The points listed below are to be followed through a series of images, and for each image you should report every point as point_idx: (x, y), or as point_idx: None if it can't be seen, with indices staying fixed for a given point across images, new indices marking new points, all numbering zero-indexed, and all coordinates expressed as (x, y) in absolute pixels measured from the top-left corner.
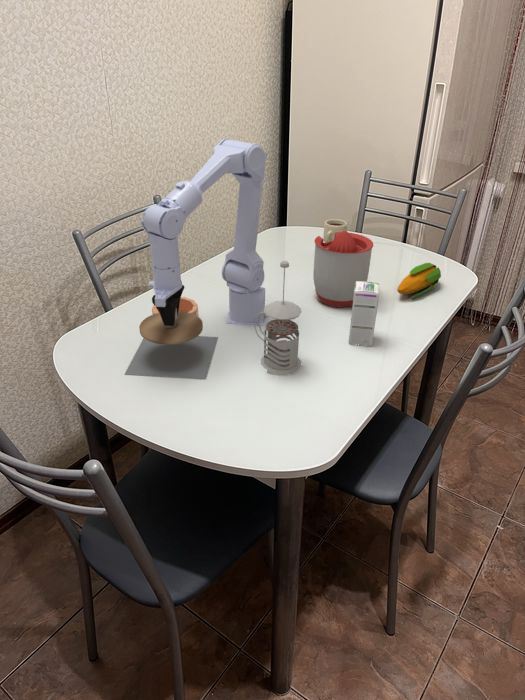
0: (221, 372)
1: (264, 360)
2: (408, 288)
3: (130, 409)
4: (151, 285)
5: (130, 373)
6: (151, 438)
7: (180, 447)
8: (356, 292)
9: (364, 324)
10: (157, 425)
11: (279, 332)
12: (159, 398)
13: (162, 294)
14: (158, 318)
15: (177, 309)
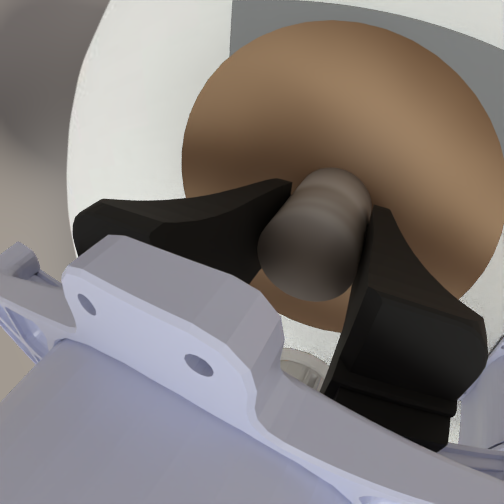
0: None
1: (284, 364)
2: None
3: (116, 67)
4: (84, 300)
5: (239, 16)
6: (71, 131)
7: (69, 178)
8: None
9: None
10: (91, 134)
11: None
12: (152, 122)
13: (17, 335)
14: (427, 135)
15: (351, 293)
